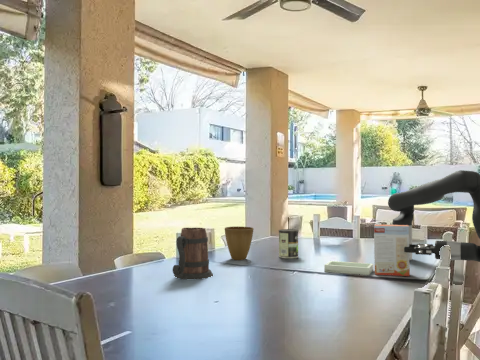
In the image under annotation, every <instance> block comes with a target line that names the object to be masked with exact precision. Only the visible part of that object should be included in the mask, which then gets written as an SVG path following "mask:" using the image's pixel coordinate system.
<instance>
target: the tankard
mask: <svg viewBox="0 0 480 360" xmlns="http://www.w3.org/2000/svg"><path fill="white" fill-rule="evenodd" d="M208 241H209V237H208V235H207V229H206V228H204V227H182V228H181V231H180V235H179V236H177V238H176V248H177V251H178V258H179V259H178V264H175V265H173V267H172V273H173V277H174V276H175V277H177V278H176V279H178V278H181V279H180V280H187V279H196V280H203V279H202V278H205V279H209V278H208V277H210V278H212V277H214V276H213V274H214V273H213V272H212V270H211V269H210V267H209V264H210V259H209V251H208V249H209V248H208ZM211 276H212V277H211ZM175 277H174V278H175Z"/></svg>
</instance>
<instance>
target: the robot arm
mask: <svg viewBox="0 0 480 360" xmlns="http://www.w3.org/2000/svg"><path fill="white" fill-rule="evenodd" d="M452 193H453V194H454V193H465V194H466V193H468V194H469V195H470V197H471V199H472V203H473V209H472V216H471V221H472V225H473V228H474V229H475V233H476V235H477V237H478V239H479V240H480V174H479V172H477V171H475V170H457V171H455V172H451V174H449V175H446V176H444V177H442V178H440V179H435V180H432V181H430V182H426V183H423V184H421V185H418V186H416V187H414V188H411V189H409V190H406V191H402V192H396V193H392V194H391V195H390V196H389V198H388V200H387V204H388V208H389V209H390V210H392V211H393V212H397V213H398V212H399V214H398V216H396V217H395V218H393V219H392V225H408V226H409V247H404V252H408V253H409V261H413V254H415V255H420V256H421V255H422V256H423V255H425V256H432V254H434V258H435V259H436V260H441V259H440V255H439V251H440V248H441V247H442V246H444V245H449V246H450V247H451V259H450V260H449V261H470V262H471V261H473V262H477V263H478V262H479V263H480V245H477V244H476V243H474V242H464V241H463V242H462V241H460V242H459V241H454V240H435V242H434V244H432V243H431V244H430V243H419V242H418V243H416V244H413V221H414V218H415V217H414V212H415V206H423V205H428V204H433V203H436V202H439V201H440V200H442V199H443V198H444V197H445V195H449V194H452Z"/></svg>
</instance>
